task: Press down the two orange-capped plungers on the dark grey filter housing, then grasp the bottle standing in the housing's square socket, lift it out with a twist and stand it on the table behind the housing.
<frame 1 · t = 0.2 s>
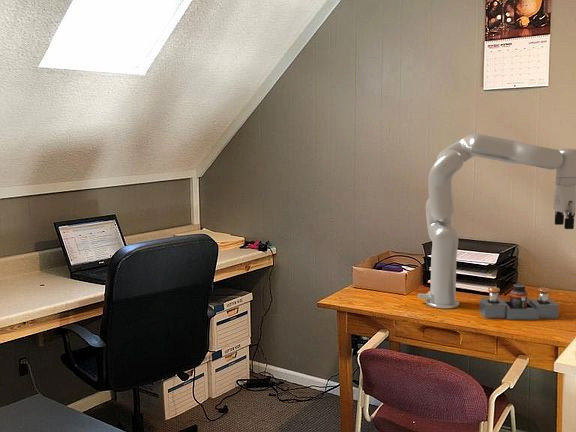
hand: (563, 226, 235), 31 cm above the table, tool pointing down, fingers open, 9 cm apart
plunger right: (543, 297, 227), point 7 cm above the table, slide at 0.0 cm
supplement bottle: (517, 315, 228), resting in housing
housing: (517, 315, 228), on the table
plunger left: (493, 297, 228), point 7 cm above the table, slide at 0.0 cm
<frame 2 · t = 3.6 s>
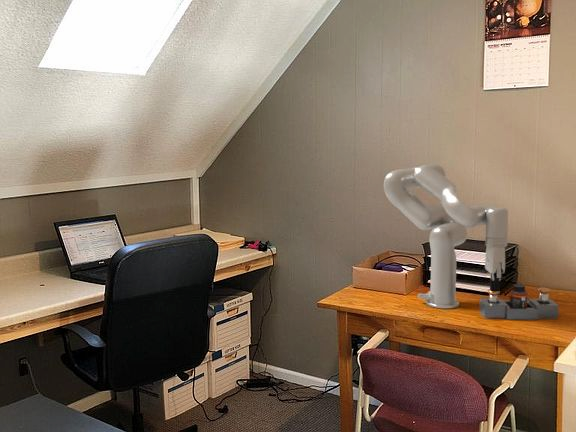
hand: (494, 290, 227), 9 cm above the table, tool pointing down, fingers closed
plunger left: (493, 299, 228), point 6 cm above the table, slide at 0.8 cm, touching gripper
everything else where it was.
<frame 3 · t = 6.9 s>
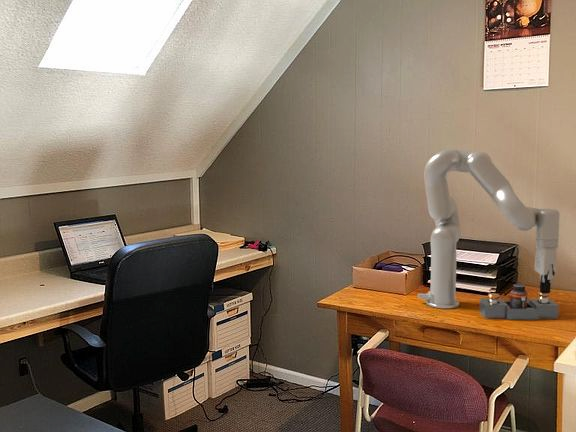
hand: (544, 292, 226), 9 cm above the table, tool pointing down, fingers closed
plunger right: (543, 301, 227), point 5 cm above the table, slide at 1.4 cm, touching gripper
plunger left: (493, 303, 228), point 4 cm above the table, slide at 2.3 cm
everything else where it was.
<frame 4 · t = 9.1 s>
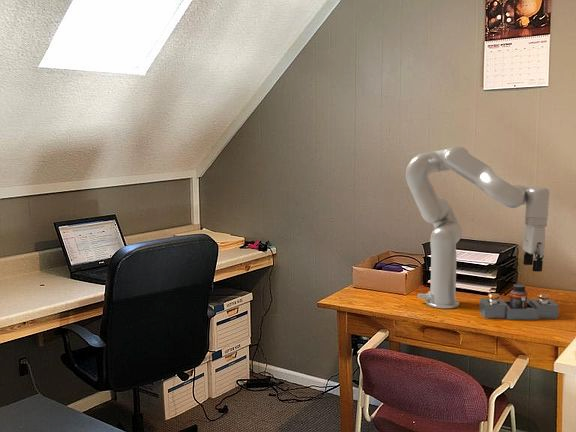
hand: (532, 267, 226), 18 cm above the table, tool pointing down, fingers open, 9 cm apart
plunger right: (543, 303, 227), point 4 cm above the table, slide at 2.3 cm
everything else where it was.
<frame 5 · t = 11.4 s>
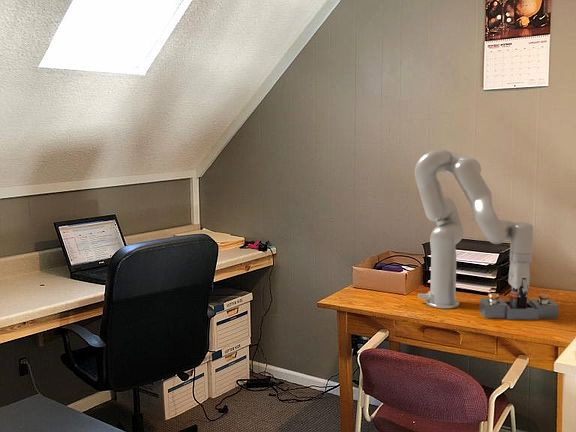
hand: (518, 304, 228), 4 cm above the table, tool pointing down, fingers closed on supplement bottle, 5 cm apart
supplement bottle: (517, 315, 228), resting in housing, touching gripper
everything else where it was.
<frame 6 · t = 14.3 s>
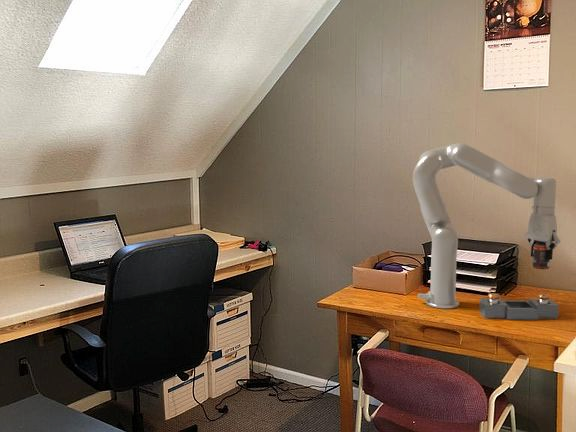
hand: (541, 257, 234), 20 cm above the table, tool pointing down, fingers closed on supplement bottle, 5 cm apart
supplement bottle: (540, 268, 235), point 15 cm above the table, touching gripper
everything else where it was.
when the fingers open (5 cm above the table, at t = 17.5 s): supplement bottle stays where it is, on the table.
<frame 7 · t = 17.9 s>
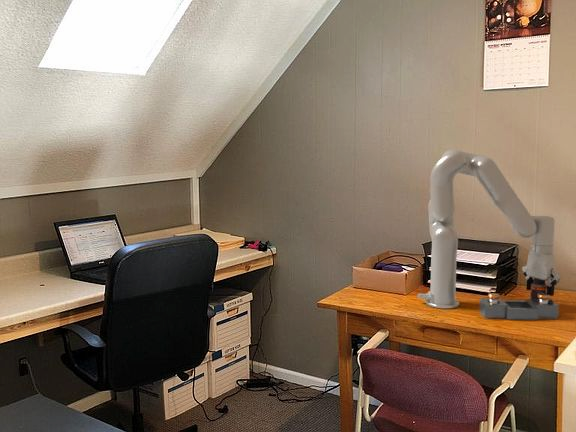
hand: (539, 292, 237), 6 cm above the table, tool pointing down, fingers open, 9 cm apart
supplement bottle: (538, 307, 238), on the table
everything else where it was.
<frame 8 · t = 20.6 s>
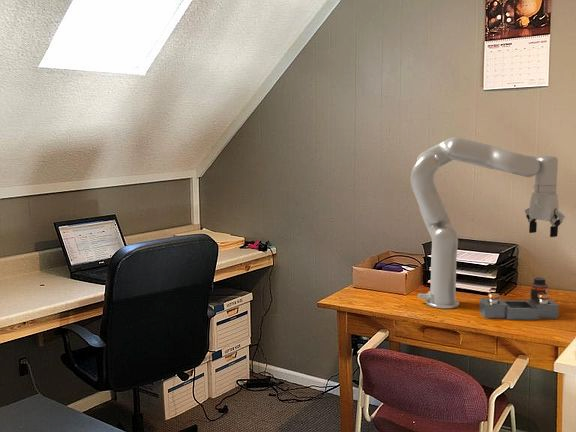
hand: (543, 234, 233), 28 cm above the table, tool pointing down, fingers open, 9 cm apart
nothing on the table moved.
at the end: supplement bottle inside the target area (0.2 cm from its centre), on the table; supplement bottle tilted 0°; plunger right slide at 2.3 cm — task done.
